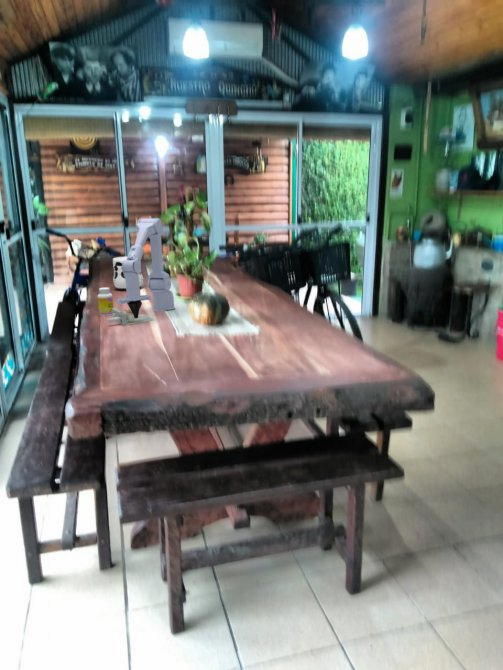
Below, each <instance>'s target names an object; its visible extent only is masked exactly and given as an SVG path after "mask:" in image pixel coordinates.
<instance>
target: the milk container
mask: <svg viewBox="0 0 503 670" xmlns="http://www.w3.org/2000/svg"><path fill="white" fill-rule="evenodd" d="M127 256H128V255H126V256H118V257H116V256H115V257H113V258H112V265H113V266H112V268H113V278H112V283H113V286H114V288H115V289H117V290H121V291H122V290H123V291H127V290H126V280H125V277H124V274H123V271H122V268H121V267H122V262H123V261H125V260H126V259H127ZM139 285H140V288H142V287H143V286H144V276H143V274H142V268H141V269H140V272H139Z"/></svg>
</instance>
